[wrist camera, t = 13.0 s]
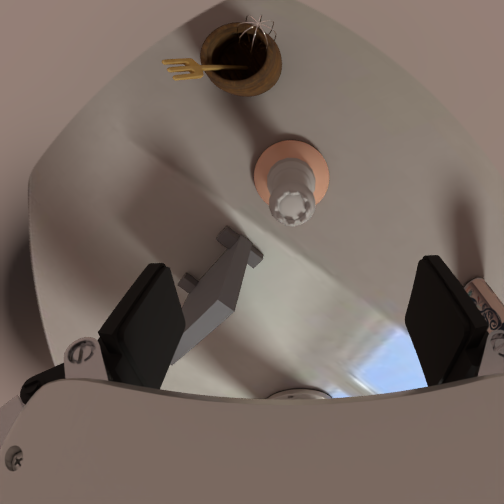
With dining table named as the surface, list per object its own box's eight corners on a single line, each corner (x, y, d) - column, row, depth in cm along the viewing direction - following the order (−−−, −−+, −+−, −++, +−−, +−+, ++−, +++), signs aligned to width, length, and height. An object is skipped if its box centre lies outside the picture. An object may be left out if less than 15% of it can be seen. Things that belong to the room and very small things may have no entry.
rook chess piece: (272, 151, 24) (266, 169, 18) (320, 163, 24) (333, 186, 17) (262, 196, 27) (252, 230, 20) (308, 207, 27) (315, 245, 20)
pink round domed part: (294, 224, 28) (294, 226, 28) (239, 179, 27) (238, 180, 26) (343, 175, 25) (344, 176, 25) (288, 124, 24) (288, 125, 23)
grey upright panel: (212, 305, 35) (187, 374, 25) (179, 281, 33) (143, 346, 24) (265, 253, 30) (253, 324, 21) (228, 223, 29) (197, 285, 20)
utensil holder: (295, 77, 21) (301, 50, 11) (235, 110, 24) (195, 112, 13) (260, 28, 19) (239, -27, 9) (202, 62, 22) (142, 35, 11)
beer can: (460, 280, 29) (503, 344, 18) (486, 272, 28) (531, 330, 17) (456, 308, 31) (491, 372, 20) (481, 299, 30) (518, 358, 19)
